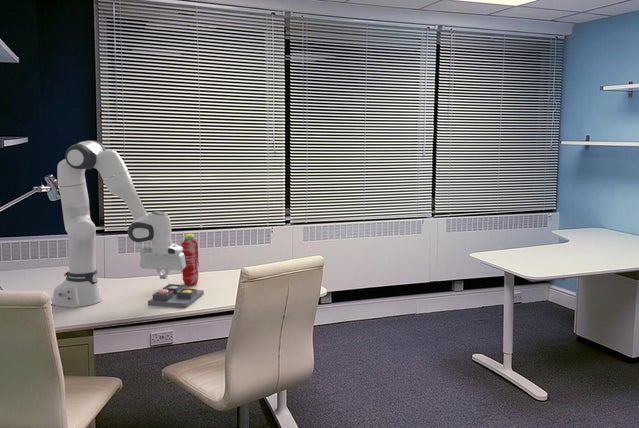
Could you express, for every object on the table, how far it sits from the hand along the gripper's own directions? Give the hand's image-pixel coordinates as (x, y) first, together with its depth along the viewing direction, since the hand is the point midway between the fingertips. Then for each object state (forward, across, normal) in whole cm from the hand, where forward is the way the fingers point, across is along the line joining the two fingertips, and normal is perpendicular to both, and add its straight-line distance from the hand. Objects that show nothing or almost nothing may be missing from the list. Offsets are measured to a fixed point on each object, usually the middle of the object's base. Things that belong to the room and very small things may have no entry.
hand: (163, 278), depth 262 cm
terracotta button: (+7, 0, 0) cm, 8 cm away
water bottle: (+12, -2, +30) cm, 32 cm away
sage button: (+9, -1, +10) cm, 13 cm away
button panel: (+11, +4, +5) cm, 13 cm away
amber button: (+9, +8, +5) cm, 13 cm away
